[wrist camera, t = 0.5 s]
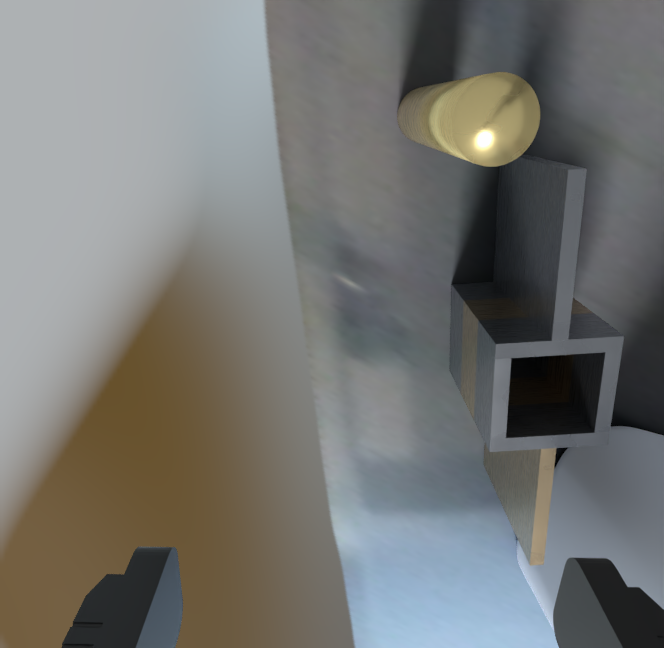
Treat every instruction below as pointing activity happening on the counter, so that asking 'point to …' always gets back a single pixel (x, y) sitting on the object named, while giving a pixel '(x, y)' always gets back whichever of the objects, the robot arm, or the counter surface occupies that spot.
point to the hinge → (533, 345)
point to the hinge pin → (473, 117)
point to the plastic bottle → (606, 514)
